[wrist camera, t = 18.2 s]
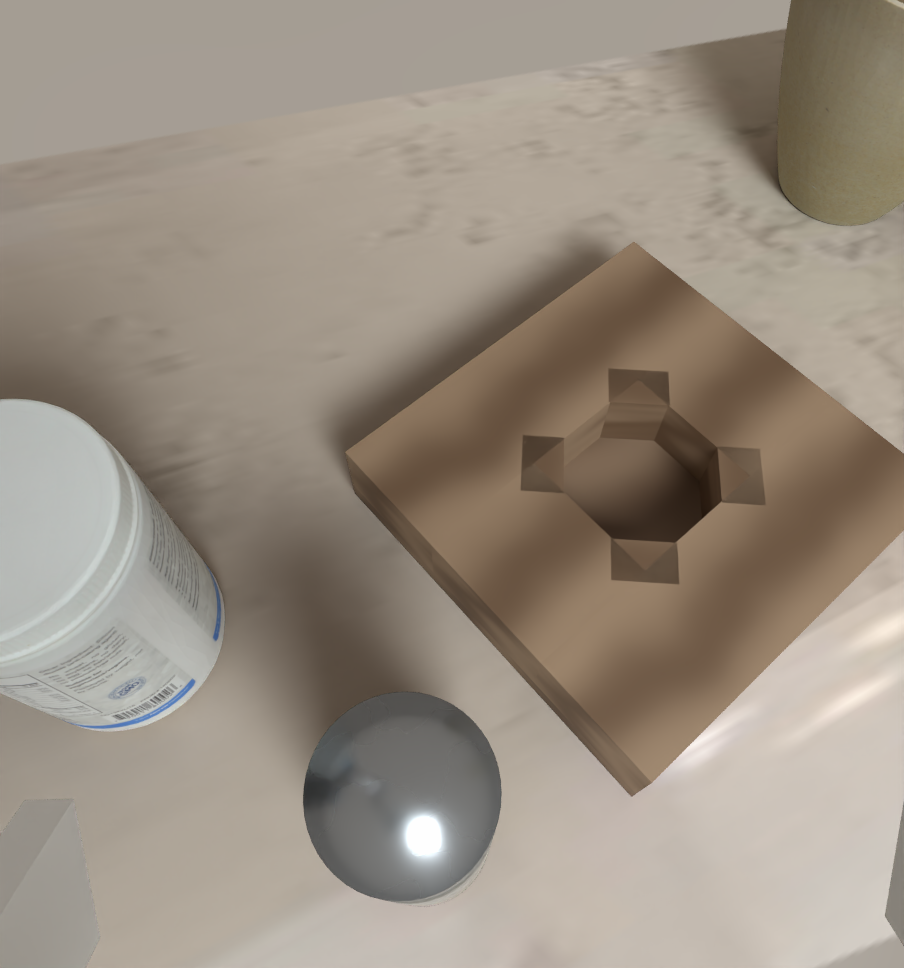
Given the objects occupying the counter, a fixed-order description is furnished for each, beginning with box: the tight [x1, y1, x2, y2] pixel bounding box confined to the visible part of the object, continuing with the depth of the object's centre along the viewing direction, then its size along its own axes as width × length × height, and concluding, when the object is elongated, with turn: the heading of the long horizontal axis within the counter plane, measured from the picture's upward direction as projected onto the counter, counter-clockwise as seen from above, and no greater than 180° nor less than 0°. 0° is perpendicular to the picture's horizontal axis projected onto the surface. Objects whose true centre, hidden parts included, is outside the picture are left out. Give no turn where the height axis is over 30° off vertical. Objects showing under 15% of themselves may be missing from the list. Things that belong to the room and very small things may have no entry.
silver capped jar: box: [303, 692, 501, 907], centre depth 31 cm, size 6×6×13 cm
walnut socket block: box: [345, 242, 904, 797], centre depth 42 cm, size 20×20×4 cm
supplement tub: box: [0, 399, 225, 731], centre depth 35 cm, size 10×10×15 cm
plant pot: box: [777, 0, 904, 226], centre depth 47 cm, size 15×15×16 cm
